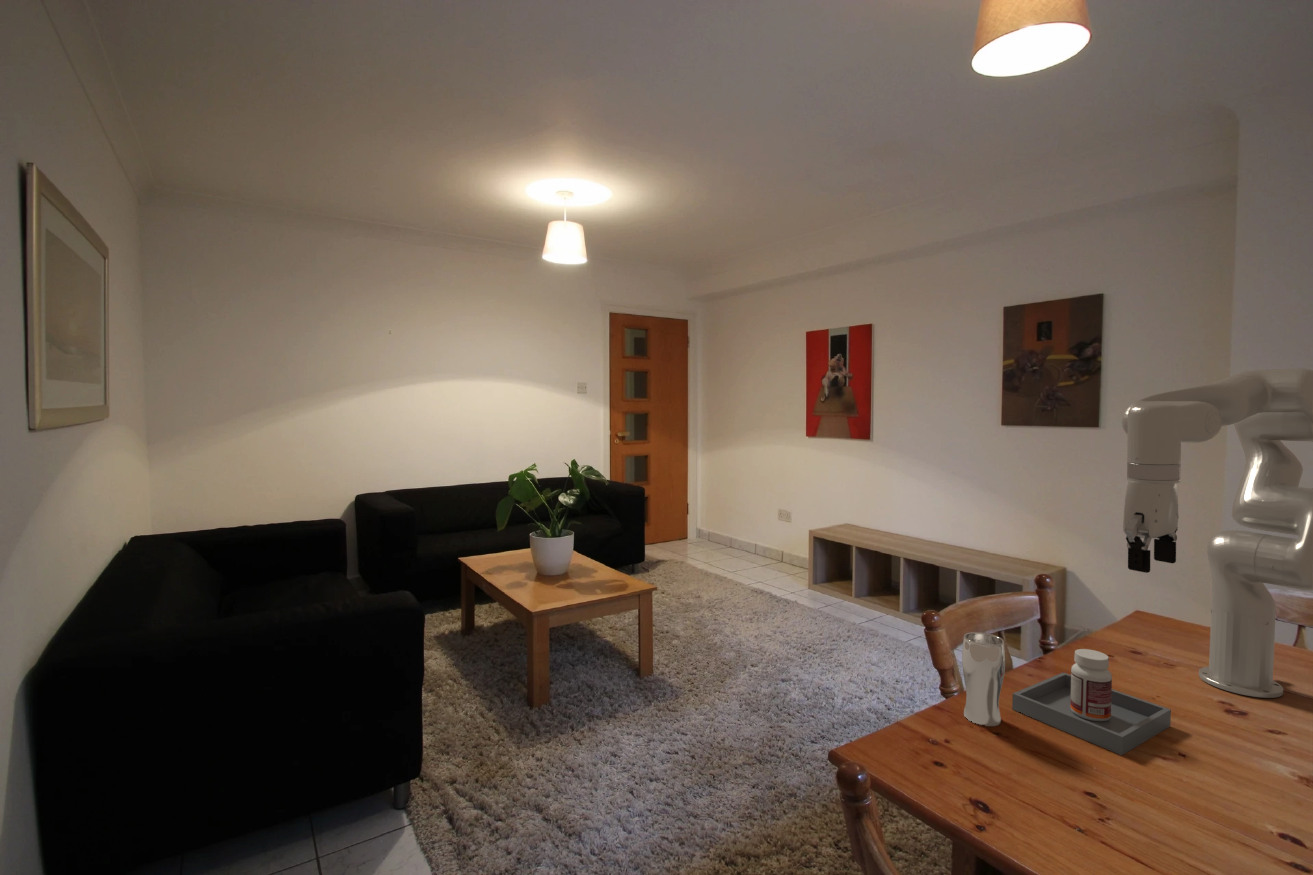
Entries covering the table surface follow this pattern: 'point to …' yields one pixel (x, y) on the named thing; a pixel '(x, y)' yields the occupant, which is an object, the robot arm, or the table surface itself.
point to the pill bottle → (1091, 685)
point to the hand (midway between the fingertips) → (1152, 566)
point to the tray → (1117, 734)
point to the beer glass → (983, 677)
